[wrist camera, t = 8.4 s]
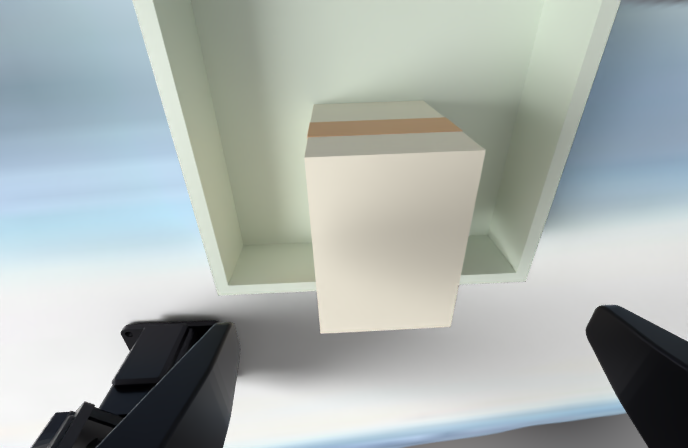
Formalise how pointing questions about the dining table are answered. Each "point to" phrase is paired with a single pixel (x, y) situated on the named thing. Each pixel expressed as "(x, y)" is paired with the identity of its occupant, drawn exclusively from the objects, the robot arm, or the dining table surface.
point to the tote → (360, 87)
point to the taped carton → (388, 213)
